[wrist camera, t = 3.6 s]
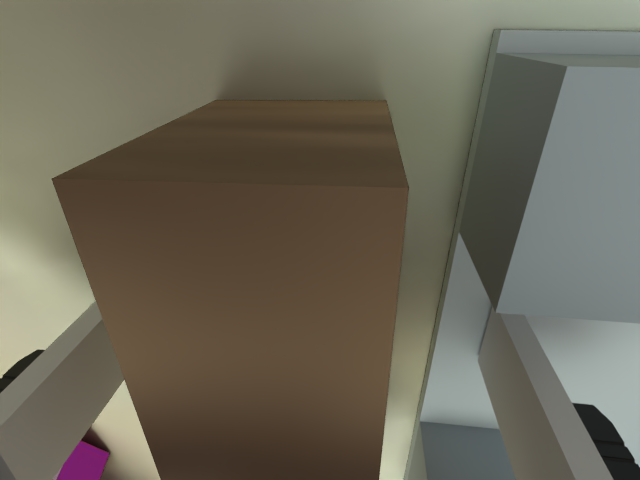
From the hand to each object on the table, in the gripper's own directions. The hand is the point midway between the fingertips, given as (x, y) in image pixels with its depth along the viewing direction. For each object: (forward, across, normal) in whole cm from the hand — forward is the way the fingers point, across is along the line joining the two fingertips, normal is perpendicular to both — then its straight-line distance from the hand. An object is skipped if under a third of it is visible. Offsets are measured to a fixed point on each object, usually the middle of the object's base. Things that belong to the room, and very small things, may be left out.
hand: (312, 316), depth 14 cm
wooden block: (+1, 0, 0) cm, 1 cm away
